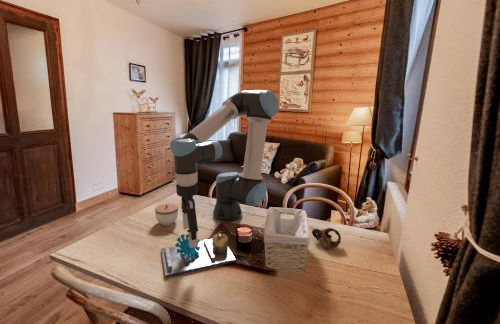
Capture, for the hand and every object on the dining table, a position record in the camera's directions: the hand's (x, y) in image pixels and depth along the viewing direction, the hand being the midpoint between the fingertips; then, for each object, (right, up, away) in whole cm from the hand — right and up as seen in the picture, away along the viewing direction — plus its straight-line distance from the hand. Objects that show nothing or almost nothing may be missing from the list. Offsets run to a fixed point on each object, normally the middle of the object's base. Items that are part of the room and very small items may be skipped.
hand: (190, 237), depth 93 cm
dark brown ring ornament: (+55, -7, +14) cm, 57 cm away
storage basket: (+36, -9, +6) cm, 38 cm away
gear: (-1, -7, +1) cm, 8 cm away
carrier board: (+2, -8, +3) cm, 9 cm away
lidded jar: (-18, -2, +29) cm, 34 cm away
